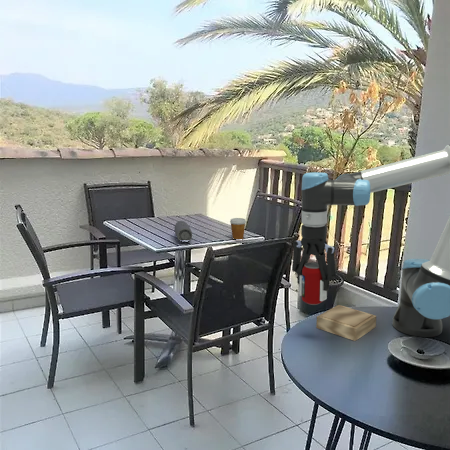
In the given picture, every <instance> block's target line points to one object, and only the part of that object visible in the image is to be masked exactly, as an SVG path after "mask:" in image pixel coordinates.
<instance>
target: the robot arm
mask: <svg viewBox="0 0 450 450" xmlns="http://www.w3.org/2000/svg"><path fill="white" fill-rule="evenodd" d="M447 175H450V144H447V145H446V146H445V147H444V148H443V149H441V150H438V151H433V152H429V153H426V154H422V155H418V156H414V157H409V158H406V159H402V160H399V161H398V160H397V161H395V162H394V161H393V162H391V163H387V164H383V165H379V166H376V167H371V168H368V169H364V170H361V171H357V172H351V173H344V174H340V175H339V176H337V178H336V179H331V178H329V175H328V173H326V172H317V171H316V172H315V171H314V172H305V173H304V174H303V175H302V178H301V224H302V225H301V227H300V228H301V229H300V232H301V233H300V234H301V240H300V239H297V240H295V241H293V242H292V245H293V257H292V267H291V271H292V272H293V273H294V272H295V273H296V274H297V285H299V290H298V293H299V294H298V295H299V296H300V297H302V269H303V267H304V266H305V264H306V263H309V259H310V257H311V256H314V257H315V260H316V261H317V263H318V265H319V268H320V272H321V275H322V280H320V301H323V302H324V301H326V300H327V298H328V297H327V296H328V291H329V290H330V281H333V280H334V279H335V278H336V276H337V275H336V264H335V263H336V261H335V253H336V246H335V245H332V246H331V245H329V244H328V243H327V236H328V235H327V232H328V231H327V230H328V226H327V225H326V224H327V223H328V206H355V207H358V206H367V205H368V204H370V201H371V194H372V193H376V192H381V191H383V190H388V189H393V188H397V187H401V186H404V185H408V184H409V185H410V184H413V183H418V182H421V181H427V180H430V179H434V178H438V177H442V176H447ZM302 249H303V251H302ZM401 269H402V271H401V272H402V273H401V285H400V286H401V287H400V297H399V303H398V306H397V308H396V310H395V312H394V315H393V317H392V326H393V328H395V330H397V331H398V332H401V333H403V334H405V335H408V336H413V337H419V338H432V337H438V336H439V335H441V334H442V332H443V321H442V319H446V318H449V317H450V216H448V219H447V221H446V224H445V226H444V228H443V231H442V232H441V234H440V236H439V239H438V242H437V243H436V246H435V248H434V250H433V252H432V255H431V257H430V259H425V258H408V259H405V260H404V261H403V264H402V268H401Z"/></svg>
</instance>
